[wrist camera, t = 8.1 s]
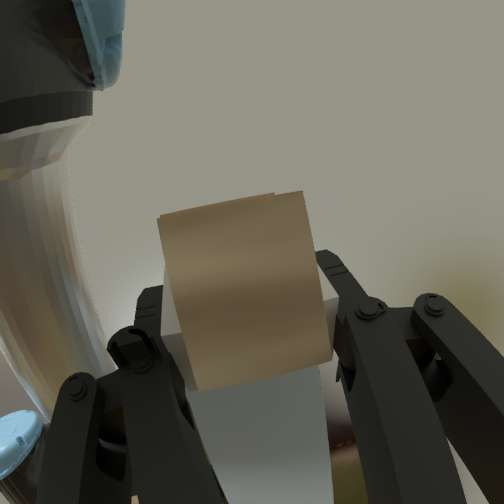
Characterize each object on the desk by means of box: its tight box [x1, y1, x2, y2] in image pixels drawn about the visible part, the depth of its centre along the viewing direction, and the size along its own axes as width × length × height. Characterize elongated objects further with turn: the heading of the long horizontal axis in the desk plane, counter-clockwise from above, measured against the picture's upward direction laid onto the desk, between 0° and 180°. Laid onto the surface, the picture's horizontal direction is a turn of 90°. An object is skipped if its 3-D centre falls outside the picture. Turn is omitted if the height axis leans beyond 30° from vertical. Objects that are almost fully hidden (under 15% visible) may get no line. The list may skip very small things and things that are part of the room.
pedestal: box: [185, 365, 334, 504], centre depth 26 cm, size 12×12×31 cm
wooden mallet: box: [157, 191, 332, 392], centre depth 16 cm, size 20×8×6 cm, turn 7°
